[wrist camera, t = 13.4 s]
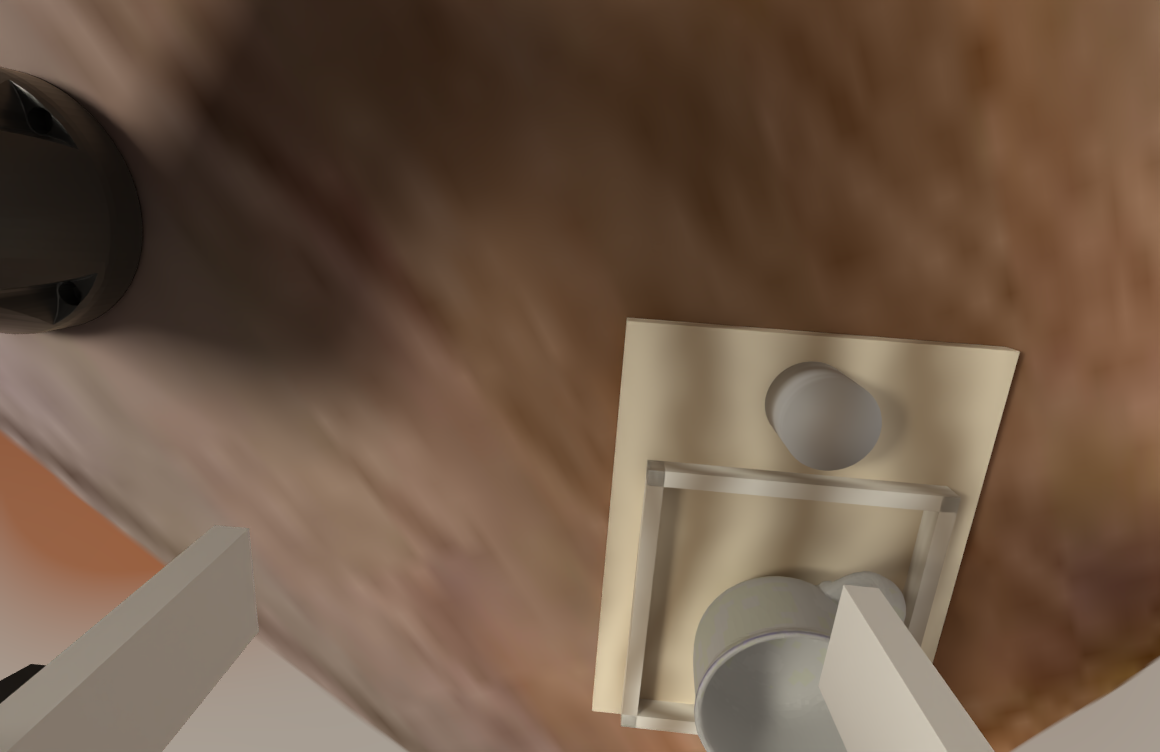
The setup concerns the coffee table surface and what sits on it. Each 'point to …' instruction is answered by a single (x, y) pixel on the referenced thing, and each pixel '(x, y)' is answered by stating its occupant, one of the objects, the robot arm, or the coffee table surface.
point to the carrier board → (781, 484)
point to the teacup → (771, 664)
